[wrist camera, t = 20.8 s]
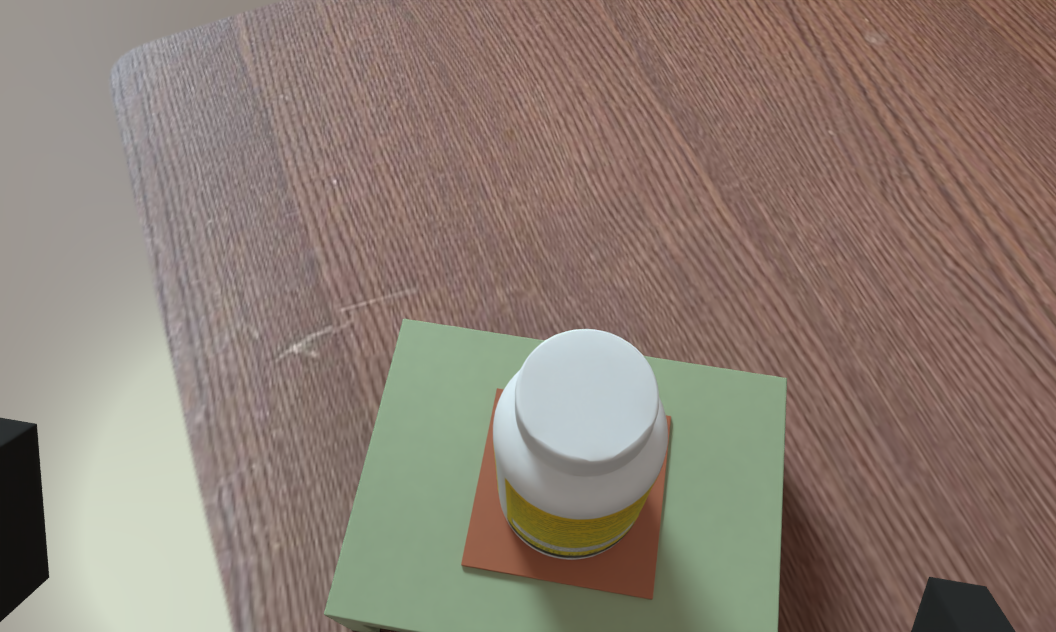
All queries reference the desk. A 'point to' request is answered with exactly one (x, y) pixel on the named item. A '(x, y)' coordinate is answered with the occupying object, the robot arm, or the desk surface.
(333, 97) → the desk surface
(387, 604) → the shelf
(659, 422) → the supplement bottle
